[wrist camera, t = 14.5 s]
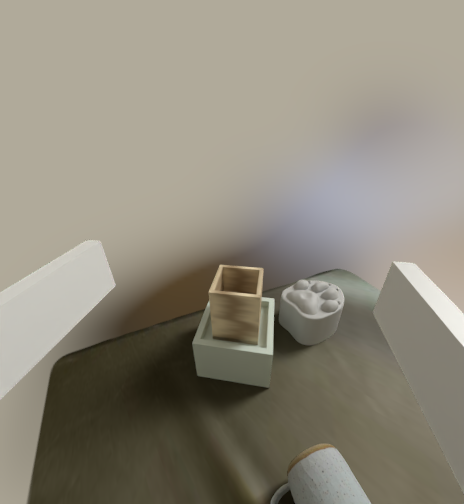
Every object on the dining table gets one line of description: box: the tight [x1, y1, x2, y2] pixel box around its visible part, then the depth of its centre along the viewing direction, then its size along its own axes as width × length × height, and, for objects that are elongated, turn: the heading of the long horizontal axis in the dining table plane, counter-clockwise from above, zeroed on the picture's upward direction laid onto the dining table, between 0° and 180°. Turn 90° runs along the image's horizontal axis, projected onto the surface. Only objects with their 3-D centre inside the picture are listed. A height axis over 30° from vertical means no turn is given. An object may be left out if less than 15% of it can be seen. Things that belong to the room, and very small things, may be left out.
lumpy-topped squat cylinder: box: [279, 280, 344, 345], centre depth 48 cm, size 10×13×9 cm
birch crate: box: [209, 265, 263, 345], centre depth 38 cm, size 8×8×10 cm
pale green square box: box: [192, 297, 274, 388], centre depth 42 cm, size 13×13×8 cm
